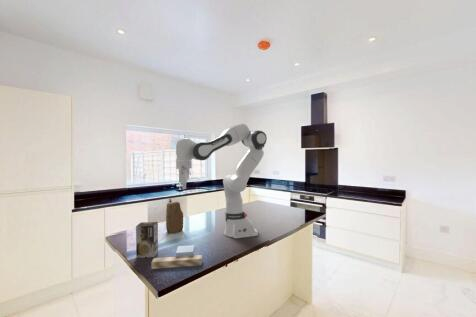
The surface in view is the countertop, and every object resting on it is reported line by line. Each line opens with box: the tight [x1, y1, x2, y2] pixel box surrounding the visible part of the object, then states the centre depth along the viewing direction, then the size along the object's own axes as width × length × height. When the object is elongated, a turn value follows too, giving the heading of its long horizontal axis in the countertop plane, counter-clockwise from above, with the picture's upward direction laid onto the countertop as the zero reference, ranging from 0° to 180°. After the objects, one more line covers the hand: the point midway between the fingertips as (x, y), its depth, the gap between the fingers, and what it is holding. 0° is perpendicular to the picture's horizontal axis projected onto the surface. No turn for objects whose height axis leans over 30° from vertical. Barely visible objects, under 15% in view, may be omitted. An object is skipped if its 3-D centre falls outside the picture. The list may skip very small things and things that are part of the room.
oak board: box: [151, 254, 203, 270], centre depth 97 cm, size 22×4×3 cm, turn 98°
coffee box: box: [135, 221, 159, 259], centre depth 108 cm, size 9×6×16 cm
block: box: [165, 201, 184, 234], centre depth 143 cm, size 11×8×20 cm
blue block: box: [175, 244, 195, 257], centre depth 103 cm, size 8×8×5 cm
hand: (184, 189), depth 124 cm, fingers closed
